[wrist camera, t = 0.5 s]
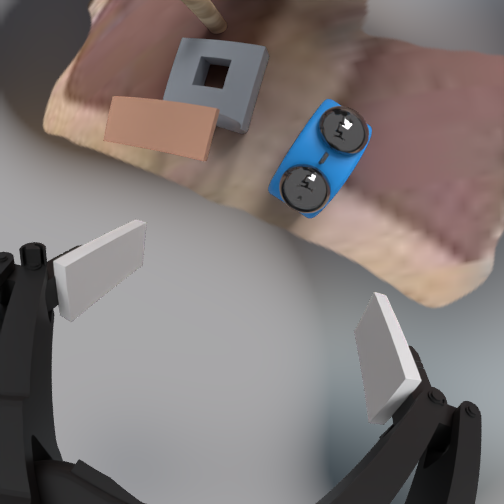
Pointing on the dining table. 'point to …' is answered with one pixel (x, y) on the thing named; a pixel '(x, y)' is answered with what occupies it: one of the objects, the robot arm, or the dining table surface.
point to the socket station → (192, 100)
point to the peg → (207, 15)
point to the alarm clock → (321, 158)
